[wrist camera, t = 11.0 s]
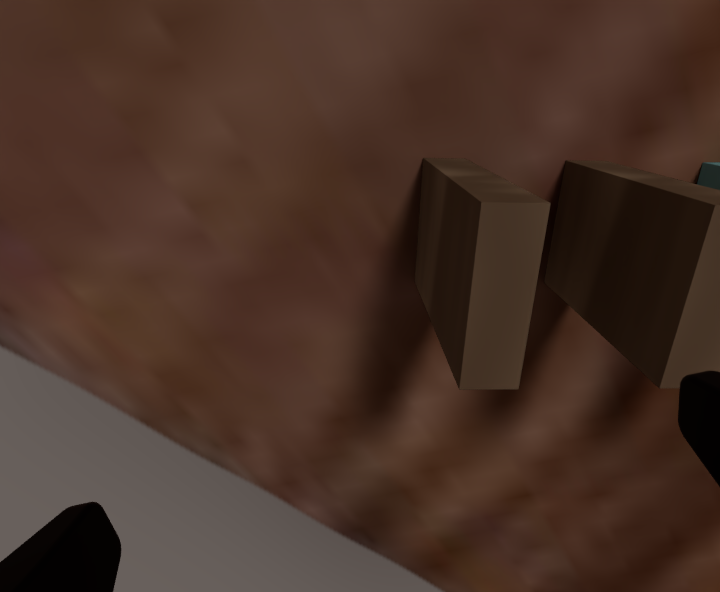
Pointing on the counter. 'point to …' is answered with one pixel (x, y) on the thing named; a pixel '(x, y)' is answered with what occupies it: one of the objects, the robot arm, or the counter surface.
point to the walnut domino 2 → (641, 265)
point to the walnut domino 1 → (479, 268)
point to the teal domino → (710, 175)
